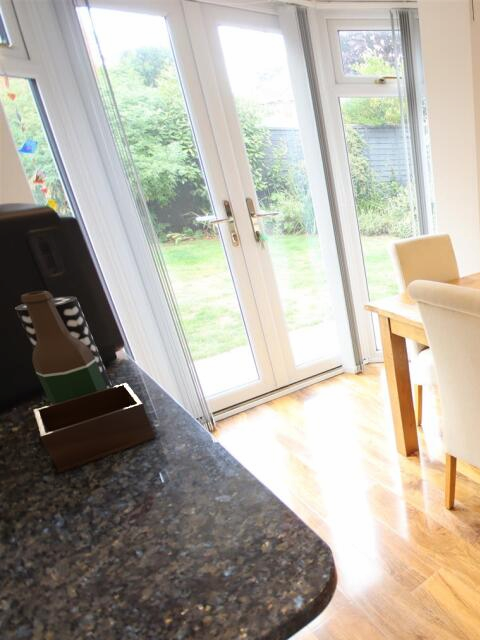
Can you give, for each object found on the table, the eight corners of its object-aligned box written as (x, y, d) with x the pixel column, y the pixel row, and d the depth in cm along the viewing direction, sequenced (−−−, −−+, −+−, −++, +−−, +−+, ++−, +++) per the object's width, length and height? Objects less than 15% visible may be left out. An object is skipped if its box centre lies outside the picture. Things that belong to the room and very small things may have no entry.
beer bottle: (59, 436, 79) (-4, 302, 70) (63, 418, 85) (5, 293, 76) (117, 420, 84) (64, 292, 75) (116, 404, 89) (68, 284, 80)
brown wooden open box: (49, 444, 77) (33, 409, 74) (138, 414, 85) (126, 382, 83) (59, 473, 69) (40, 436, 67) (155, 437, 78) (142, 403, 75)
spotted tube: (59, 399, 92) (15, 303, 85) (111, 385, 97) (75, 294, 90) (60, 413, 86) (14, 312, 79) (116, 397, 92) (78, 301, 84)
